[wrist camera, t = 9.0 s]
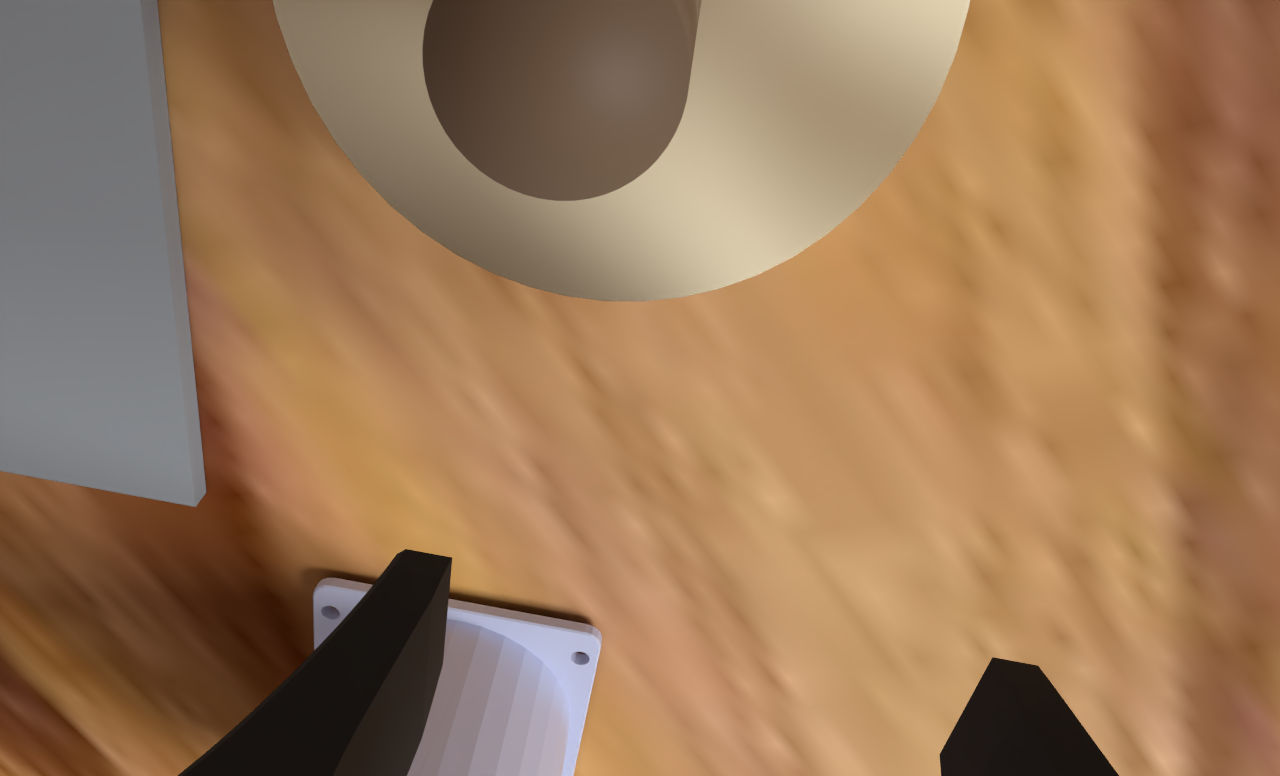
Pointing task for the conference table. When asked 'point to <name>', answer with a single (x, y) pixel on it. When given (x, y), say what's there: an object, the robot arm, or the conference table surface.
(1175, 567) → the conference table surface
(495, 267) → the lid
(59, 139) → the mat
